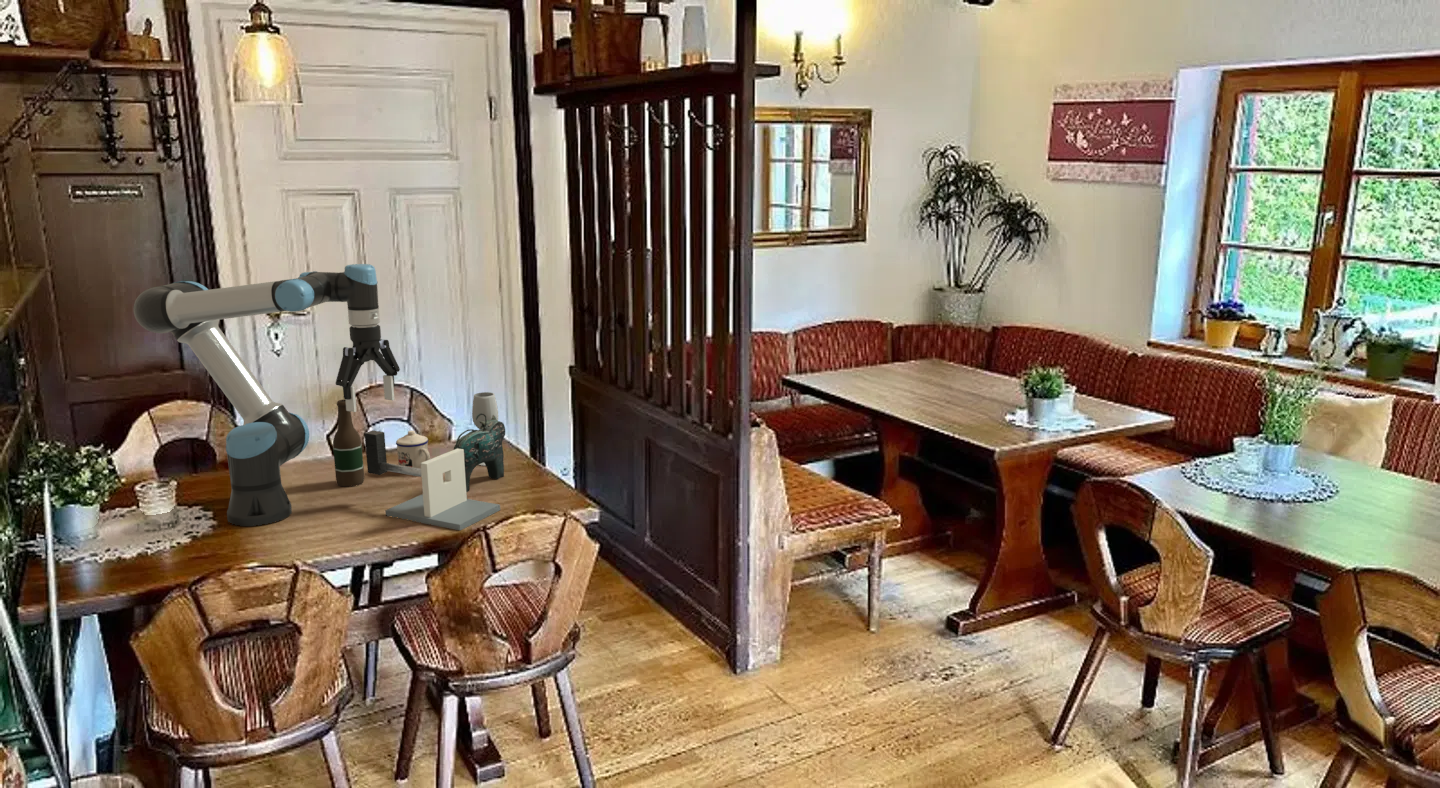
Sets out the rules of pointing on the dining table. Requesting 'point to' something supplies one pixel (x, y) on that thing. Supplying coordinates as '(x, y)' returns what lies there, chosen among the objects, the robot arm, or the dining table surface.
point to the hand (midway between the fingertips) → (370, 405)
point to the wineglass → (484, 408)
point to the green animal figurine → (483, 448)
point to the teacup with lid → (412, 450)
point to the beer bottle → (347, 450)
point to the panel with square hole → (444, 496)
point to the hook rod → (382, 456)
